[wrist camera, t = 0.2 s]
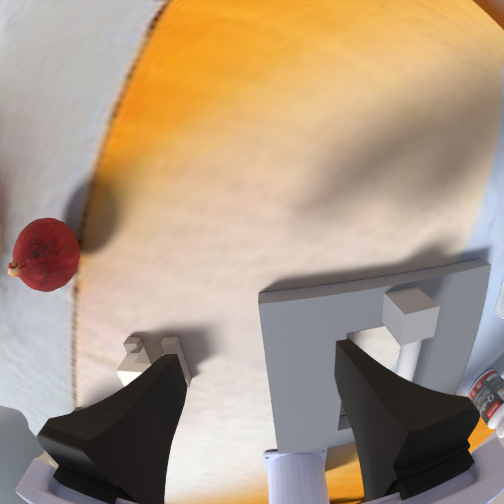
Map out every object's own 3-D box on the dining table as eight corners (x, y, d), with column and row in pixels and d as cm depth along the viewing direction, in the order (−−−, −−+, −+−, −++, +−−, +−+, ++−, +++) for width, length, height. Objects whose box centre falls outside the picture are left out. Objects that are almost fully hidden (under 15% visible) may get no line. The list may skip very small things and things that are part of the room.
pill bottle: (472, 377, 24) (507, 422, 14) (498, 361, 24) (533, 400, 14) (462, 404, 26) (491, 447, 16) (488, 388, 25) (518, 426, 15)
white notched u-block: (191, 378, 24) (182, 407, 20) (144, 377, 24) (130, 403, 20) (178, 336, 23) (165, 363, 19) (128, 336, 23) (110, 361, 19)
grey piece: (441, 402, 25) (458, 429, 20) (277, 441, 26) (279, 479, 21) (478, 258, 20) (515, 277, 14) (258, 292, 21) (257, 330, 16)
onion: (81, 200, 20) (15, 215, 12) (106, 262, 21) (48, 299, 13) (43, 226, 20) (-17, 247, 13) (65, 281, 22) (12, 317, 14)
